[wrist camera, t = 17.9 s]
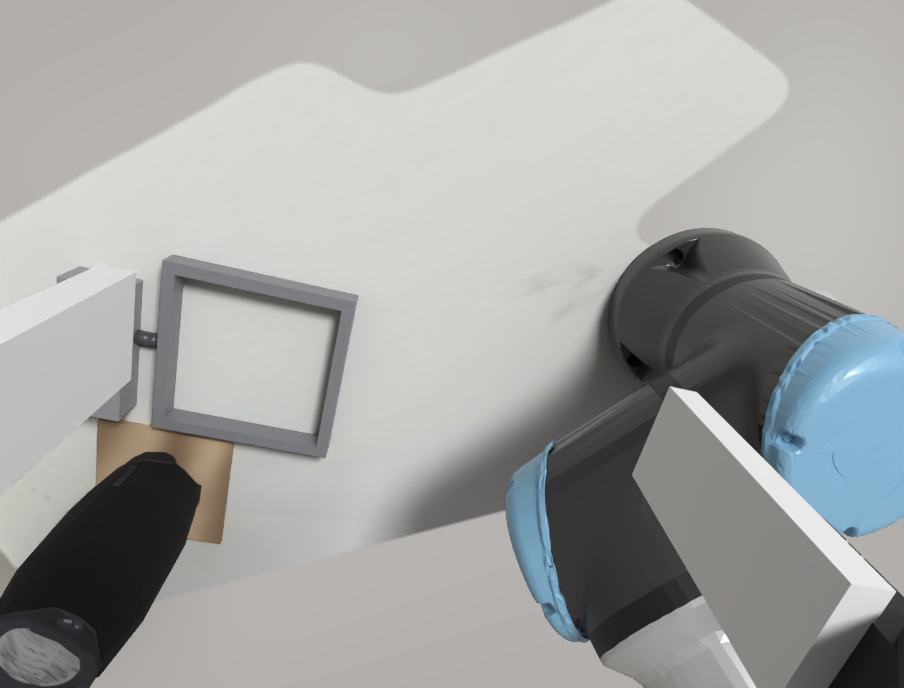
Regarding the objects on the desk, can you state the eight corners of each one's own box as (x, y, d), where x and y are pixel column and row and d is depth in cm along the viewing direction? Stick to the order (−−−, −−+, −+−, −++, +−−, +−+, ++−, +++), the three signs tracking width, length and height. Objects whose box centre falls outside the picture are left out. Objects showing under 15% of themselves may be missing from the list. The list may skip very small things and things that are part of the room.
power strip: (142, 279, 47) (108, 299, 42) (136, 404, 52) (104, 435, 46) (80, 266, 47) (37, 285, 42) (78, 393, 51) (39, 424, 46)
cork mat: (234, 440, 54) (232, 444, 53) (221, 540, 58) (219, 544, 57) (101, 416, 52) (97, 419, 51) (98, 520, 56) (95, 524, 56)
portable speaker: (203, 530, 56) (98, 725, 38) (105, 508, 55) (-52, 701, 37) (218, 460, 54) (112, 636, 35) (115, 435, 52) (-50, 605, 34)
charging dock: (358, 295, 49) (355, 302, 47) (328, 446, 54) (325, 458, 52) (134, 246, 46) (122, 251, 45) (126, 409, 52) (115, 420, 50)
